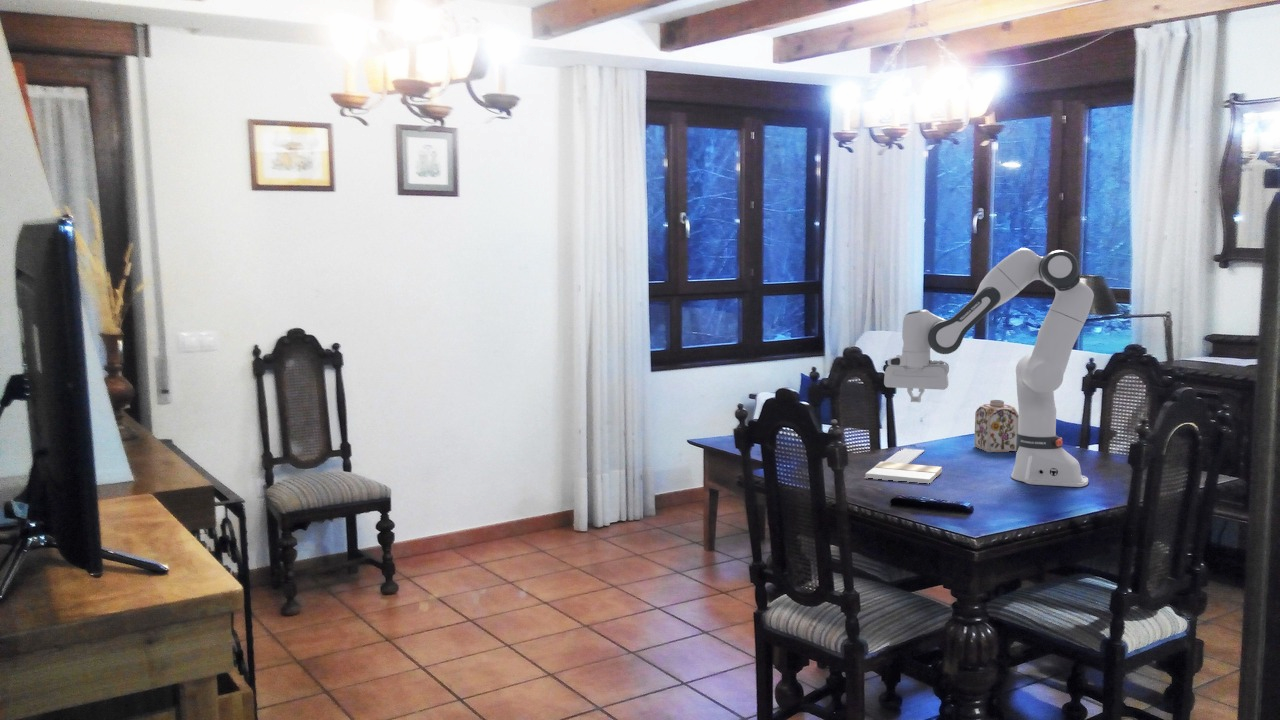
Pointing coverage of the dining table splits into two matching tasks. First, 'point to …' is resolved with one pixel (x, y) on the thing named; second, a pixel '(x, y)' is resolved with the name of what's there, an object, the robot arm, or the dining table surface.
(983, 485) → the dining table surface
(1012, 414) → the decorative jar
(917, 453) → the baseboard
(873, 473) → the white board
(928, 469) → the birch plank
